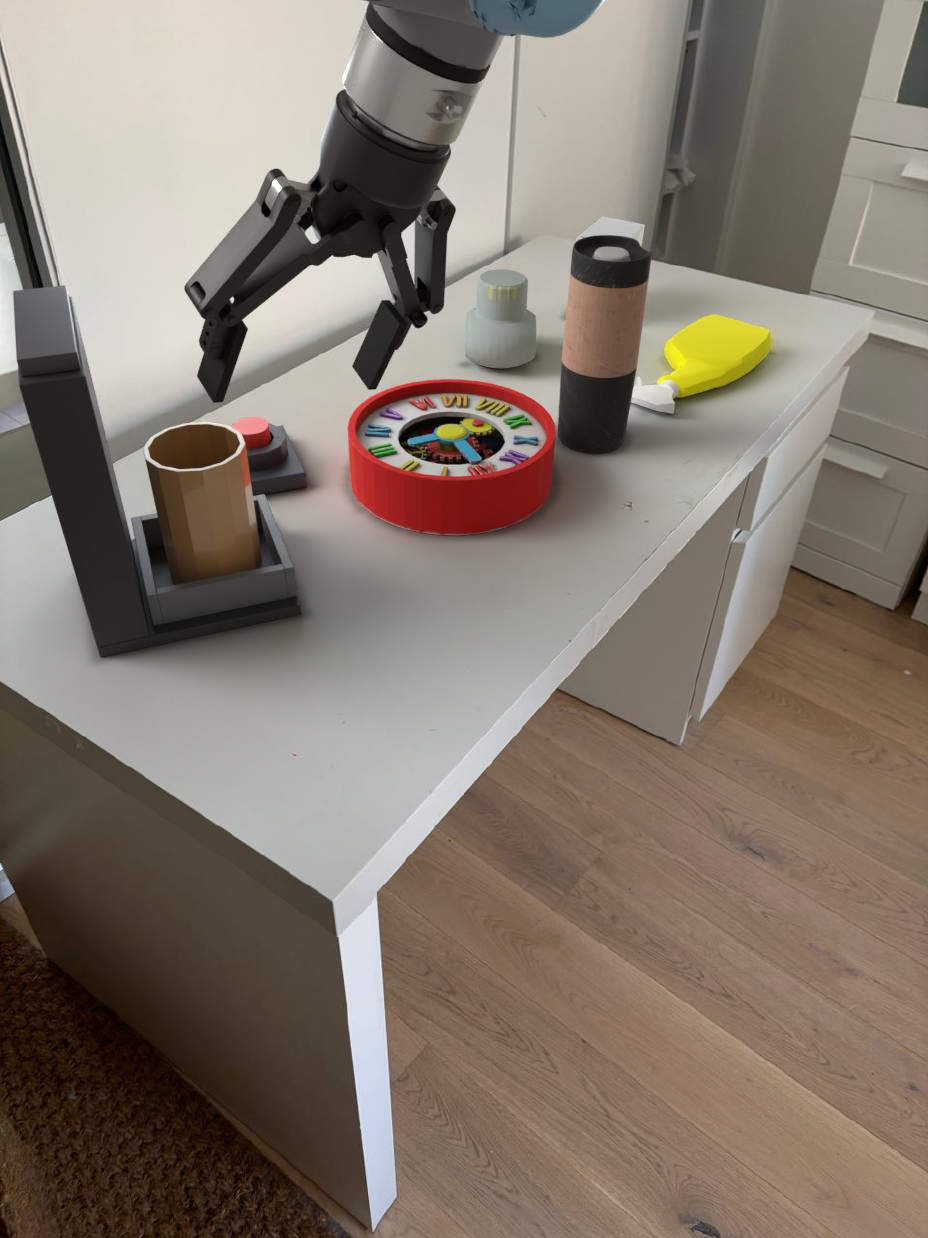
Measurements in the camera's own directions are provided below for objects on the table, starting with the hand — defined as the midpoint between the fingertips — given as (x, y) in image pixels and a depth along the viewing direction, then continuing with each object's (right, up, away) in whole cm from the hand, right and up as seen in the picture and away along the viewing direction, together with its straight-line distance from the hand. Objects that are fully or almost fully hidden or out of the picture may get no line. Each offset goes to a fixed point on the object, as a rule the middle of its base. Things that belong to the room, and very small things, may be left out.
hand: (291, 383), depth 73 cm
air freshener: (+17, +14, +45) cm, 51 cm away
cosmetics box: (+32, +24, +58) cm, 70 cm away
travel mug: (+27, +2, +31) cm, 41 cm away
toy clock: (+12, -4, +24) cm, 27 cm away
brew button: (-8, 0, +23) cm, 24 cm away
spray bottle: (+40, +11, +43) cm, 60 cm away
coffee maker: (-10, -15, +10) cm, 21 cm away
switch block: (-8, -3, +24) cm, 26 cm away
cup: (-8, -13, +10) cm, 19 cm away
